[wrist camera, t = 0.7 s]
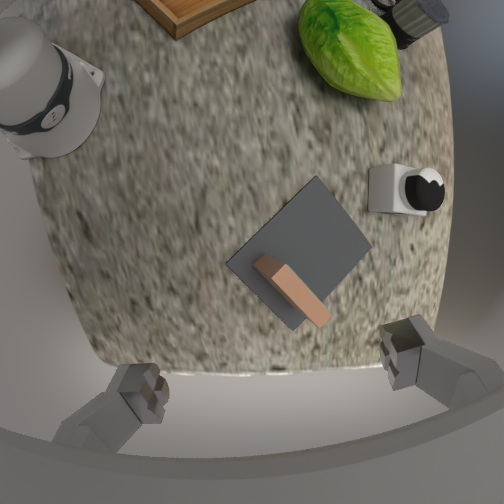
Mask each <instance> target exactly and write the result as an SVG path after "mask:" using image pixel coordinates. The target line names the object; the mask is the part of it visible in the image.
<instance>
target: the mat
mask: <svg viewBox="0 0 504 504" xmlns="http://www.w3.org/2000/svg"><path fill="white" fill-rule="evenodd" d="M371 247H372V246H371V245H370V243H369V242H368V241H367V239H366V238H365V236H364V235H363V234H362V232H361V231H360V230H359V228H358V227H357V226H356V224H355V223H354V222H353V220H352V219H351V218H350V216H349V215H348V214H347V213H346V211H345V210H344V209H343V207H342V206H341V205H340V204H339V202H338V201H337V200H336V198H335V197H334V196H333V195H332V193H331V192H330V191H329V190H328V188H327V187H326V186H325V185H324V183H323V182H322V181H321V180H320V179H319V177H318V176H315V177H314V178H313V179H312V180H311V181H310V182H309V183H308V184H307V185H306V186H305V187H304V188H303V189H301V190H300V191H299V192H298V193H297V194H296V195H295V196H294V197H293V198H292V199H291V200H290V201H289V202H288V203H287V204H286V205H285V206H284V207H283V208H282V209H281V210H280V211H279V212H278V213H277V214H276V215H275V216H274V217H273V218H272V219H271V220H270V221H268V222H267V223H266V224H265V225H264V226H263V227H262V228H261V229H260V230H259V231H258V232H257V233H256V234H255V235H254V236H253V237H252V238H251V239H250V240H249V241H248V242H247V243H246V244H245V245H244V246H243V247H242V248H241V249H240V250H239V251H238V252H237V253H236V254H235V255H234V256H233V257H232V258H231V259H230V260H229V261H228V262H227V263H226V265H227V266H228V267H229V268H230V269H231V270H232V271H233V272H234V273H235V274H236V275H237V276H238V277H239V278H240V279H241V280H242V281H243V282H244V283H245V284H246V285H247V286H248V287H249V288H250V289H251V290H252V291H253V292H254V293H255V294H256V295H257V296H258V297H259V298H260V299H261V300H262V301H263V302H264V303H265V304H266V305H267V306H268V307H269V308H270V309H271V310H272V311H273V312H274V313H275V314H276V315H277V316H278V317H279V318H280V319H281V320H282V321H283V322H284V323H285V324H286V325H287V326H289V327H290V328H291V329H292V330H293V331H294V330H295V329H296V328H297V327H298V326H299V325H300V324H301V323H302V322H303V321H304V320H305V319H306V317H304V316H303V315H302V314H301V313H300V312H298V311H297V310H296V309H295V308H293V307H292V305H291V304H290V303H289V302H288V301H287V300H286V299H285V298H284V297H283V296H282V295H281V294H280V293H279V292H278V291H277V290H276V289H275V288H274V287H273V286H272V285H271V284H270V283H269V282H268V281H267V280H266V279H265V277H264V276H263V275H262V274H261V273H260V272H259V271H258V270H257V269H256V268H255V267H254V266H253V264H254V263H255V262H256V261H257V260H258V259H259V258H260V257H261V256H262V255H263V254H266V255H268V256H271V257H273V258H275V259H277V260H279V261H281V262H283V263H285V264H288V266H289V267H290V268H291V269H292V270H293V271H294V272H295V273H296V274H297V275H298V277H299V278H300V279H301V280H302V281H303V282H304V283H305V284H306V285H307V286H308V288H309V289H310V290H311V291H312V292H313V293H314V294H315V295H316V296H317V298H318V299H319V300H320V301H321V302H322V301H323V300H324V299H325V298H326V297H327V296H328V295H329V294H330V293H331V292H332V291H333V290H334V288H335V287H336V286H337V285H338V284H339V283H340V282H341V281H342V280H343V279H344V278H345V277H346V275H347V274H348V273H349V272H350V271H351V270H352V269H353V268H354V267H355V266H356V264H357V263H358V262H359V261H360V260H361V259H362V258H363V257H364V255H365V254H366V253H367V252H368V251H369V250H370V249H371Z"/></svg>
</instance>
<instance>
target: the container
mask: <svg viewBox="0 0 504 504" xmlns="http://www.w3.org/2000/svg"><path fill="white" fill-rule="evenodd" d="M444 195H445V188H444V183H443V180H442V178H441V176H440V175H439V174H438V173H437V171H435V170H434V169H432V168H423V169H416V168H412V167H408V166H404V165H400V164H396V163H395V164H389V165H384V166H379V167H374V168H370V169H369V196H368V211H370V212H378V213H386V214H394V215H407V216H426V212H427V211H435V210H437V209H438V208H439V207H440V206H441V204H442V202H443V200H444Z"/></svg>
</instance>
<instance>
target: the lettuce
mask: <svg viewBox="0 0 504 504" xmlns="http://www.w3.org/2000/svg"><path fill="white" fill-rule="evenodd" d="M298 30H299V35H300V39H301V44H302V48H303V49H304V51H305V53H306V54H307V56H308V57H309V59H310V61H311V62H312V64H313V65H314V66H315V68H316V69H317V71H318V72H319V74H320V75H321V76H322V77H323V78H324V79H325V80H326V81H327V83H328V84H329V85H330V86H332V87H334V88H336V89H338V90H340V91H342V92H345V93H348V94H351V95H355V96H359V97H364V98H370V99H375V100H380V101H384V102H393V101H395V100H397V99H398V98H400V96H401V93H402V91H401V86H402V85H401V79H400V65H399V56H398V49H397V44H396V39H395V37H394V35H393V33H392V31H391V29H390V27H389V25H388V24H387V23H386V22H385V21H384V20H382V19H381V18H380V17H379V16H377V15H376V14H375V13H373V12H371V11H370V10H368V9H366V8H365V7H363V6H361V5H359V4H357V3H356V2H354V1H353V0H306V1H305V3H304V4H303V6H302V7H301V9H300V16H299V27H298Z"/></svg>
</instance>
